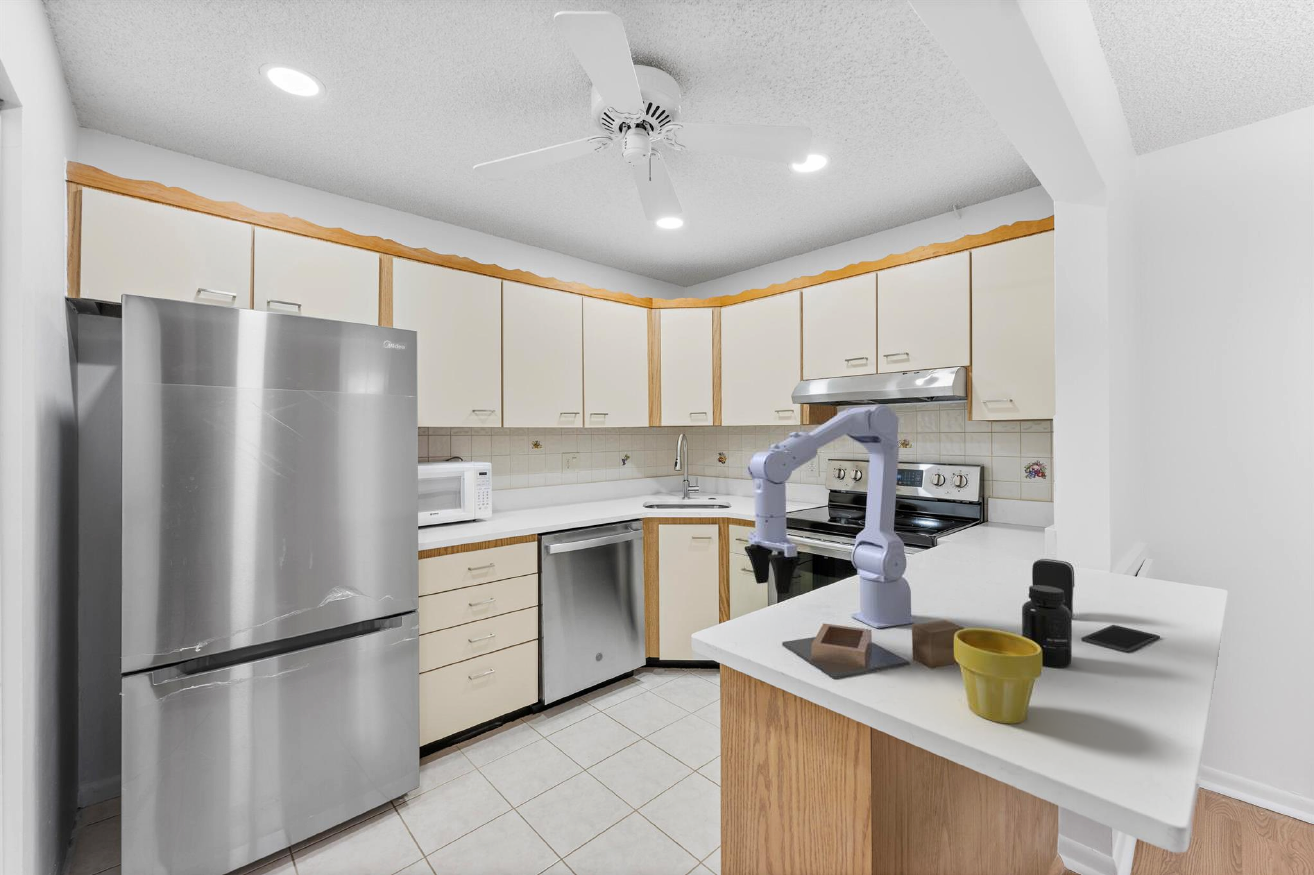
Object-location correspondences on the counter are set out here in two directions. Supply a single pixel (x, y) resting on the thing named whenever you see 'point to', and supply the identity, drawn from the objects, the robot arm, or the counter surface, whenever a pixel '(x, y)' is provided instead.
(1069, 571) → the battery charger
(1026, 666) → the plant pot
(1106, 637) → the cell phone
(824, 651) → the duct collar
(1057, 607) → the supplement bottle
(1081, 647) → the counter surface
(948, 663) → the block
